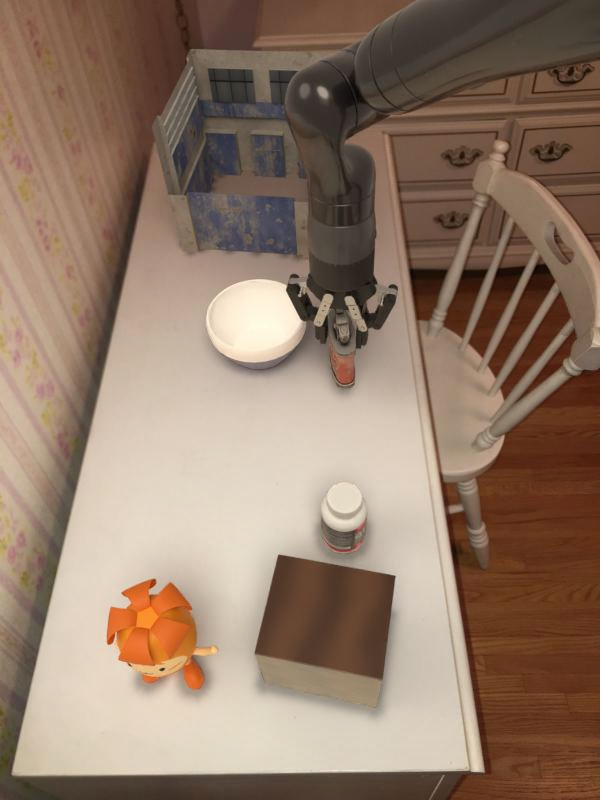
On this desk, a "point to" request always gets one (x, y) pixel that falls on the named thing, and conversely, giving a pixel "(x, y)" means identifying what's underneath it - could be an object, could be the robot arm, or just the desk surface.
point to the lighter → (342, 348)
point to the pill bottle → (343, 518)
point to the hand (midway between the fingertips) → (341, 341)
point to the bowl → (254, 323)
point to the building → (233, 150)
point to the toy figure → (157, 634)
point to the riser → (326, 630)
